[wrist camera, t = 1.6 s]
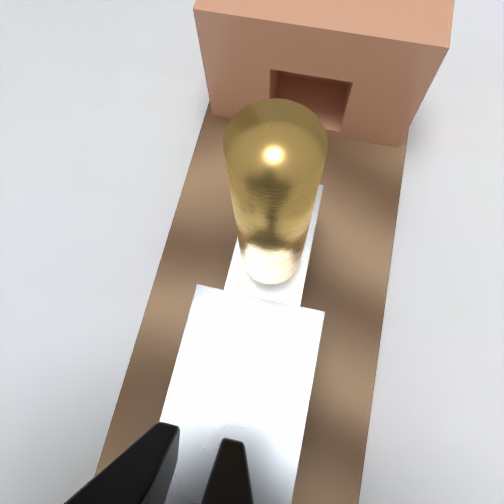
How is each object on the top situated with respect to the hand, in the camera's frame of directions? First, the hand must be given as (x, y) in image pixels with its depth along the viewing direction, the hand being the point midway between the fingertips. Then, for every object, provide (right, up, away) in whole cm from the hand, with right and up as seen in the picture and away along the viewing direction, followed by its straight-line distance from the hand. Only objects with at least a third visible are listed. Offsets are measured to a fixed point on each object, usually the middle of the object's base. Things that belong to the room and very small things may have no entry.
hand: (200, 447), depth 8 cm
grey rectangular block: (0, -4, +11) cm, 12 cm away
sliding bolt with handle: (+1, -1, +12) cm, 12 cm away
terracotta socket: (+4, +12, +17) cm, 21 cm away
